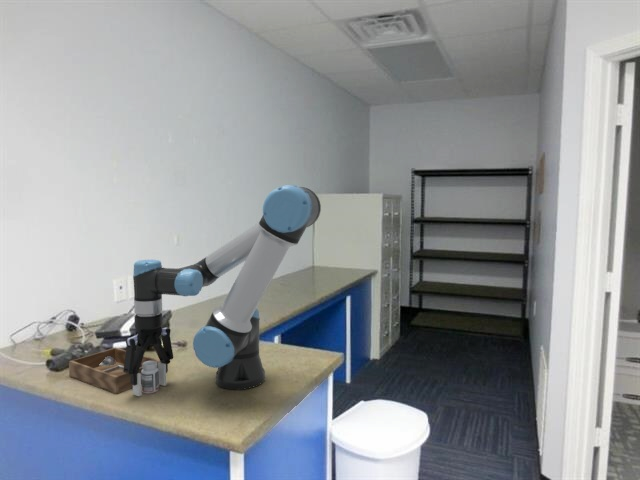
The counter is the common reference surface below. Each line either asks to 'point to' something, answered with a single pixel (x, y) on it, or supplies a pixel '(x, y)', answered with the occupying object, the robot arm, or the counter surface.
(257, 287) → the robot arm
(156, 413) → the counter surface
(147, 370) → the pill bottle
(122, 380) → the box
